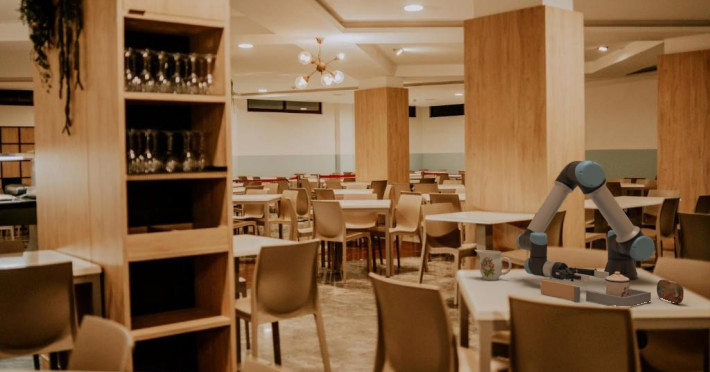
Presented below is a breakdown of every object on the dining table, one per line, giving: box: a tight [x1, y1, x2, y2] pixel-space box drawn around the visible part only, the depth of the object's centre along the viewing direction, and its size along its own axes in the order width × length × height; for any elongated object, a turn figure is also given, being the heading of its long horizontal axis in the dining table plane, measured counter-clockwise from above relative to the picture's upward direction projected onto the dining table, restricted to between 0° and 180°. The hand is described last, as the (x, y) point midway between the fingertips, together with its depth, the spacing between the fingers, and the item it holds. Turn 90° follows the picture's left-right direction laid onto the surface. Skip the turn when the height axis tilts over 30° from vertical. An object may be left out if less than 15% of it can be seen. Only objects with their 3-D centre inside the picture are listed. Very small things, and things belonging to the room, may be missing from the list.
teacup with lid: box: [604, 272, 631, 297], centre depth 255 cm, size 12×9×12 cm
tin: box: [656, 279, 685, 304], centre depth 254 cm, size 15×3×8 cm, turn 5°
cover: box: [540, 279, 581, 301], centre depth 264 cm, size 19×1×6 cm, turn 34°
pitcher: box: [474, 249, 512, 281], centre depth 306 cm, size 11×18×14 cm, turn 62°
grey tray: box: [573, 286, 652, 307], centre depth 255 cm, size 23×19×6 cm
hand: (598, 277), depth 263 cm, fingers open, 13 cm apart
